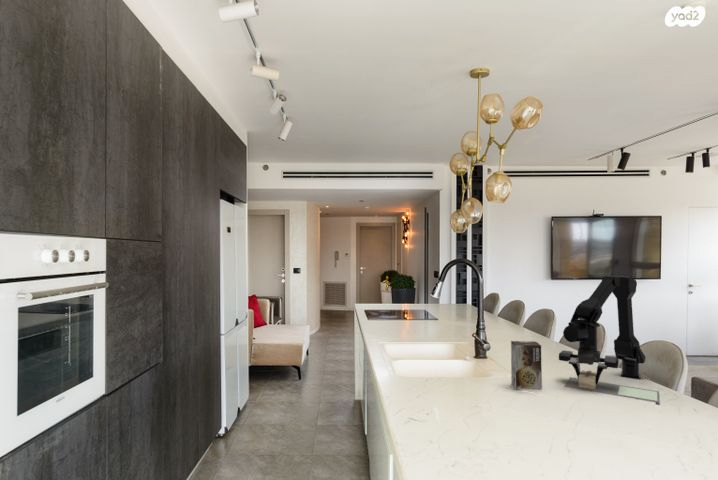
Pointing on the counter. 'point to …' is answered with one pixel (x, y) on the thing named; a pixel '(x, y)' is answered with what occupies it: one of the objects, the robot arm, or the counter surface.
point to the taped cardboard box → (587, 379)
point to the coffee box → (526, 365)
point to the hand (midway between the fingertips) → (588, 382)
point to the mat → (618, 390)
